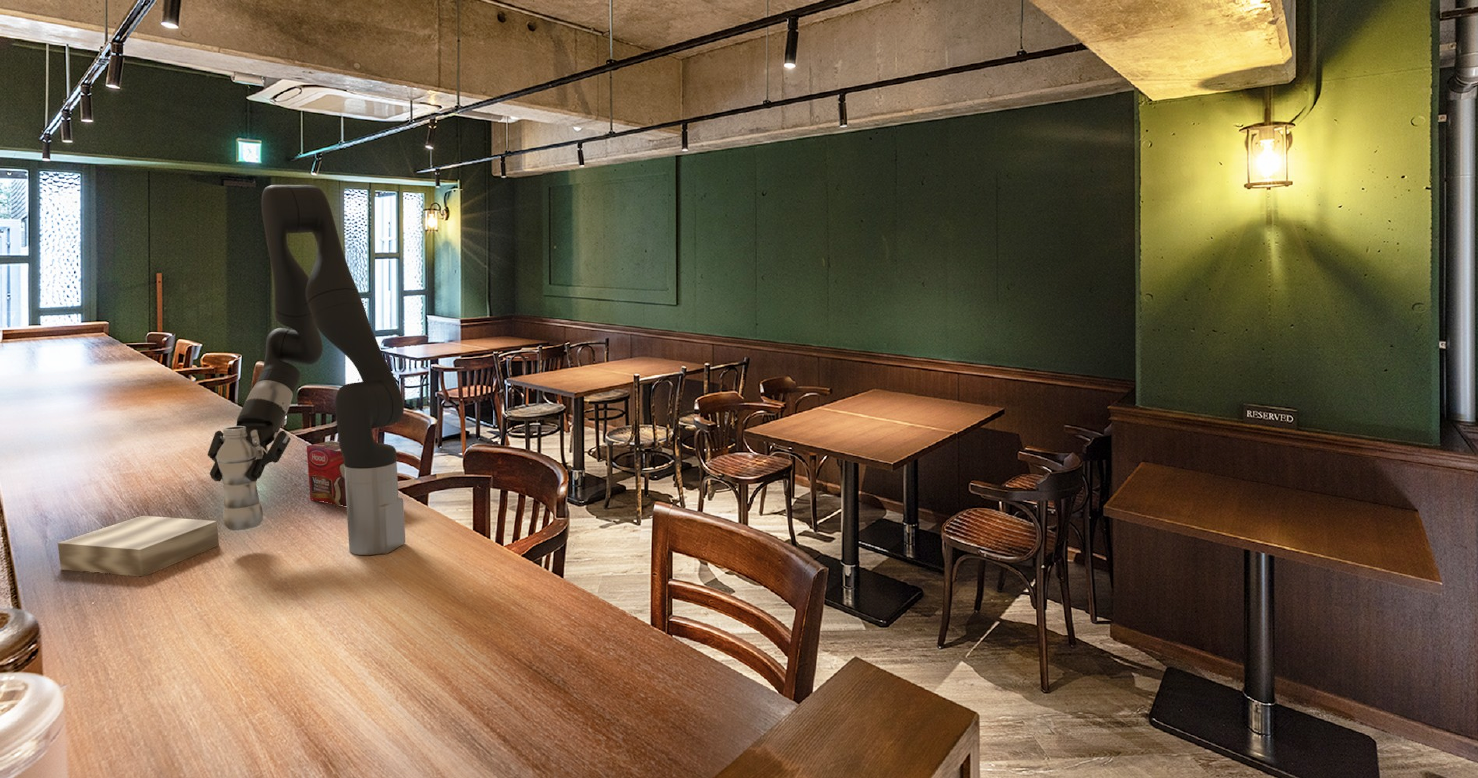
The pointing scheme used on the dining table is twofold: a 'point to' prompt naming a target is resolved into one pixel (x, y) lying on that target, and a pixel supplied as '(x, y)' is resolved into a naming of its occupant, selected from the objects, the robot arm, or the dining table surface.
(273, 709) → the dining table surface
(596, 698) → the dining table surface
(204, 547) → the oak pedestal
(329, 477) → the ice cream box
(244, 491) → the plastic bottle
